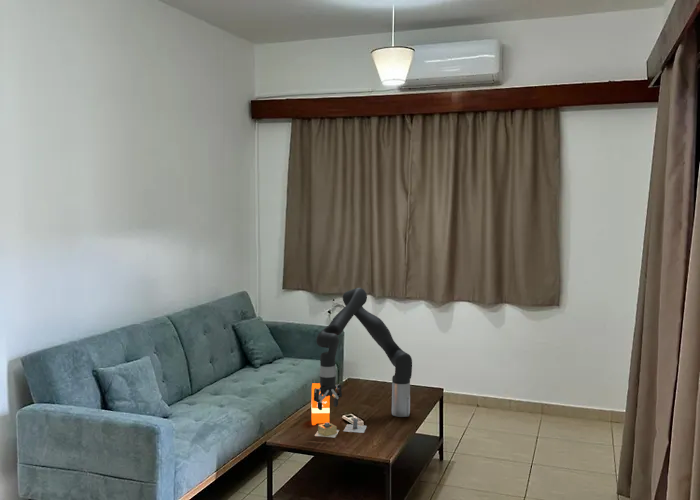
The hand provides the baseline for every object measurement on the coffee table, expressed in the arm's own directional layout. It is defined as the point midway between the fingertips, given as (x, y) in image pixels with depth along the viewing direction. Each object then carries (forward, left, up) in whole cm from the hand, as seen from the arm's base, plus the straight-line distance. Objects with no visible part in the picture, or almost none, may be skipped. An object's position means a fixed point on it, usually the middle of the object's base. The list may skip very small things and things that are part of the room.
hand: (327, 408), depth 314 cm
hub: (0, 0, -13) cm, 13 cm away
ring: (0, 0, -12) cm, 12 cm away
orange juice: (+7, -16, -13) cm, 22 cm away
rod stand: (-12, -9, -13) cm, 20 cm away
